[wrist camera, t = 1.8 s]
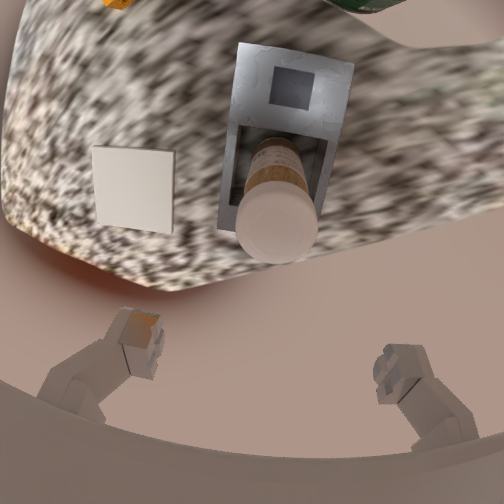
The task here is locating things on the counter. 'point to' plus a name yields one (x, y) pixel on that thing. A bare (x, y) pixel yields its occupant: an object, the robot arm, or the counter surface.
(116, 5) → the orange stepped block
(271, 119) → the grey open box
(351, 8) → the canned tomato
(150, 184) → the plate
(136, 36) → the counter surface
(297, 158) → the sprinkles bottle
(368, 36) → the counter surface
